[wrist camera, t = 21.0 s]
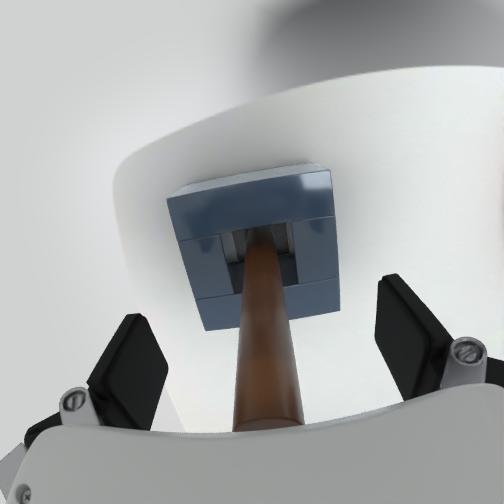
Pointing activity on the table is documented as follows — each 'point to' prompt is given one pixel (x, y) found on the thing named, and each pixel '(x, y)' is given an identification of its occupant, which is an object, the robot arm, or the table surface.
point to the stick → (265, 344)
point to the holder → (250, 216)
